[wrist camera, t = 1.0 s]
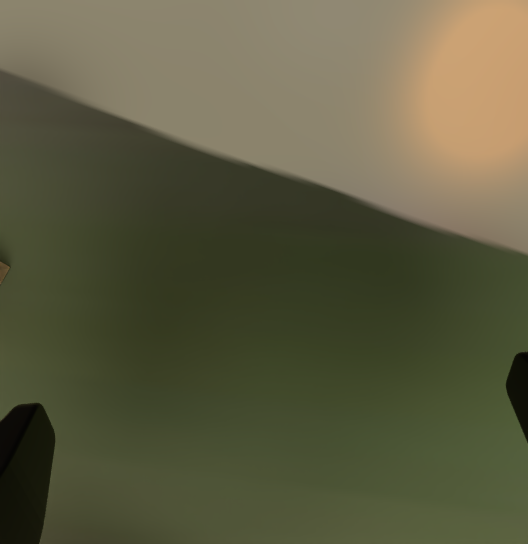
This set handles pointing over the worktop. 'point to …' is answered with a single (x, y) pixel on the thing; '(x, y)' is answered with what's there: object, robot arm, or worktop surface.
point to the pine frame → (3, 271)
